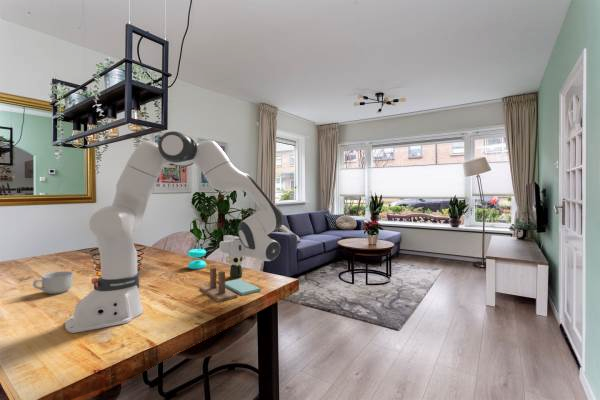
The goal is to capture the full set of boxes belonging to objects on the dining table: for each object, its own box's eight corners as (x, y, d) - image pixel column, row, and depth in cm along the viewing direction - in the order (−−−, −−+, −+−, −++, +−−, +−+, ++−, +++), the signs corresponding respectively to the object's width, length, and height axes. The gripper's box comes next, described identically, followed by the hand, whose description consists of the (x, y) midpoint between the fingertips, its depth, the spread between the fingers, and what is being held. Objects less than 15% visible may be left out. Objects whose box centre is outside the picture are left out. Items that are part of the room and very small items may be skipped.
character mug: (229, 280, 146) (229, 254, 145) (223, 277, 151) (222, 251, 151) (248, 276, 153) (248, 251, 152) (242, 273, 158) (241, 249, 158)
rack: (219, 302, 117) (218, 276, 116) (199, 289, 132) (199, 267, 132) (237, 297, 122) (237, 273, 122) (216, 285, 137) (216, 264, 137)
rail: (240, 248, 124) (240, 239, 124) (223, 244, 137) (223, 235, 136) (246, 247, 126) (246, 238, 126) (229, 243, 138) (229, 234, 138)
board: (242, 295, 124) (242, 292, 124) (222, 284, 138) (222, 282, 138) (260, 290, 130) (260, 288, 130) (239, 281, 144) (239, 278, 144)
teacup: (68, 286, 137) (68, 269, 137) (77, 290, 131) (77, 272, 131) (28, 295, 126) (28, 276, 126) (36, 300, 120) (35, 280, 119)
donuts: (194, 252, 164) (184, 250, 170) (195, 270, 164) (184, 268, 170) (209, 249, 172) (199, 248, 178) (209, 266, 172) (199, 264, 178)
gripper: (272, 235, 127) (255, 232, 137) (228, 240, 114) (213, 237, 124) (272, 249, 127) (255, 245, 138) (229, 257, 114) (214, 251, 125)
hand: (235, 241), depth 131 cm, fingers closed on rail, 3 cm apart
